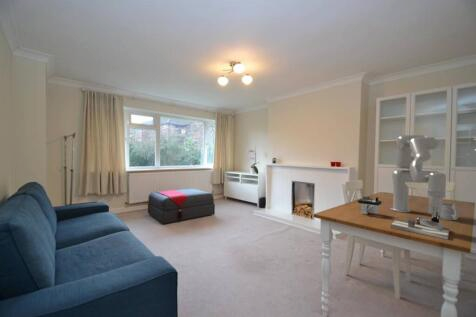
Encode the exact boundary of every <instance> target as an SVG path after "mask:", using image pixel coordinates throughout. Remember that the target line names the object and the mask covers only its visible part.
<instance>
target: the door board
mask: <svg viewBox="0 0 476 317" xmlns="http://www.w3.org/2000/svg"><path fill="white" fill-rule="evenodd" d="M390 229H396V230H400V231H406V232H409V233H415V234H421V235H425V236H429V237H435V238H439V239H444V240H448V239H449V233H450V227H449V226H444V225H443V230H438V229H434V228H431V227H427V226H424V225H421V224H417V220H415V219H414V218H409V219H405V218H399V217H397V218H396V219H395V220H394V221H393V222H392V223H391V224H390Z"/></svg>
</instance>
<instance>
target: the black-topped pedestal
mask: <svg viewBox="0 0 476 317" xmlns="http://www.w3.org/2000/svg"><path fill="white" fill-rule="evenodd" d="M357 203H358V204H360V206H361V207H360V214H362V215H368V213H369V214H373V213H374V215H378V212H379V210H378V208H379V206H381V205H382V200H379V196H377V197H374V199H372V197H371V196H364V195H362V197H361V198H360V199H358V200H357Z"/></svg>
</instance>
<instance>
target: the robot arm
mask: <svg viewBox="0 0 476 317" xmlns="http://www.w3.org/2000/svg"><path fill="white" fill-rule="evenodd" d="M396 147H397V154H396V161H395V162H396V167H397V169H395V170H394V171H393V172H392V176H391V177H392V180H393V181H392V182H393V195H392V197H393V198H392V206H391V207H390V210H391V211H394V212H398V213H399V212H400V213H411V211H412V209H410V208H409V199H410V198H409V191H410V190H409V186H408V185H407V184H406V183H417V184H418V183H419V184H427V196H428V197H429V201H428V202H429V203H428V214H430V215H431V219H430V220H431V221H435V222H438V223H440V216H439V215H440V213H441V208H442V203H443V199H445V198H446V190H447V188H446V186H447V174H445V172H444V173H443V172H440V171H437V170H423V167H424V166H423V165H424V164H423V163H425V162H427V161H429V160H430V159H431V158H432V154H431V152H430V150H432V151H433V150H435V149H436V148H437V147H438V141H437V139H436V138H435V137H434V136H432V135H431V136H430V135H426V134H405V135H400V136H398V137H397V138H396Z"/></svg>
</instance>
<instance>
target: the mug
mask: <svg viewBox="0 0 476 317" xmlns="http://www.w3.org/2000/svg"><path fill="white" fill-rule="evenodd" d="M439 219H441V220H445V221H457V220H458V219H459V210H458V207H457V203H453V204H452V203H451V204H450V203H444V202H442V208H441V212H440V215H439Z"/></svg>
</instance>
